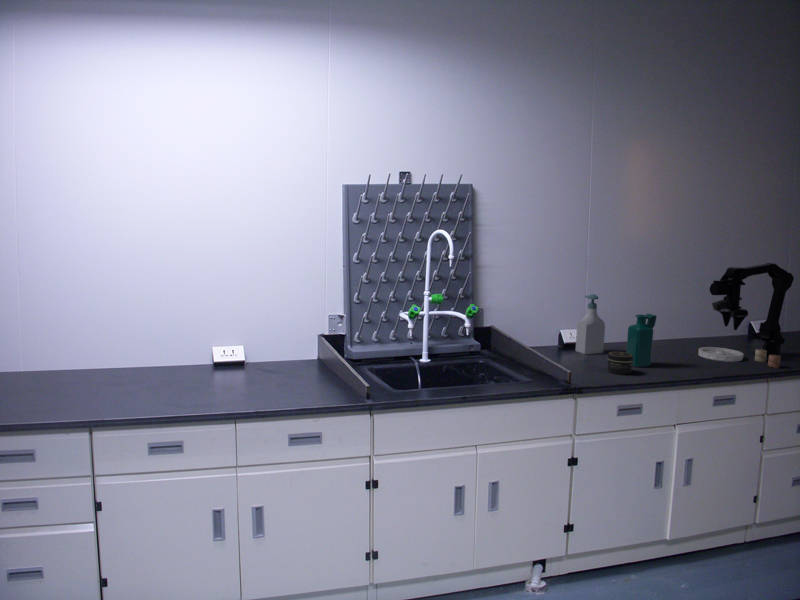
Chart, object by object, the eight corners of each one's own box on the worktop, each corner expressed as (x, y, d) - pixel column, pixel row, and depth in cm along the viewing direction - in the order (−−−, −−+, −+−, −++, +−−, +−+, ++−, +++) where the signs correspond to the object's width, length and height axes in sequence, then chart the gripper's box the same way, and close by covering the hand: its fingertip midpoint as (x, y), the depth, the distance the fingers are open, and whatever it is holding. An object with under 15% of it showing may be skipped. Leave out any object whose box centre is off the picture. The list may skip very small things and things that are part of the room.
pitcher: (635, 367, 267) (639, 316, 263) (623, 362, 275) (627, 313, 271) (655, 366, 269) (659, 316, 266) (642, 361, 277) (646, 312, 274)
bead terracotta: (775, 365, 275) (777, 354, 275) (781, 368, 271) (782, 357, 270) (765, 365, 275) (766, 354, 275) (771, 368, 271) (772, 356, 270)
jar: (611, 367, 265) (613, 350, 264) (635, 372, 259) (637, 354, 258) (602, 372, 258) (604, 354, 257) (627, 376, 251) (628, 358, 250)
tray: (730, 353, 299) (731, 347, 299) (750, 362, 281) (751, 356, 281) (691, 351, 300) (692, 346, 299) (709, 361, 282) (709, 355, 281)
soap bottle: (591, 349, 301) (595, 292, 297) (603, 352, 294) (607, 294, 290) (572, 350, 297) (576, 293, 293) (584, 354, 289) (588, 295, 285)
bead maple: (762, 360, 286) (763, 349, 286) (767, 362, 282) (768, 351, 281) (752, 359, 286) (753, 349, 286) (757, 362, 282) (758, 351, 281)
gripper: (706, 292, 298) (704, 324, 301) (724, 297, 280) (721, 331, 282) (730, 292, 298) (728, 324, 300) (750, 297, 279) (747, 332, 282)
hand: (730, 328), depth 291 cm, fingers open, 9 cm apart
